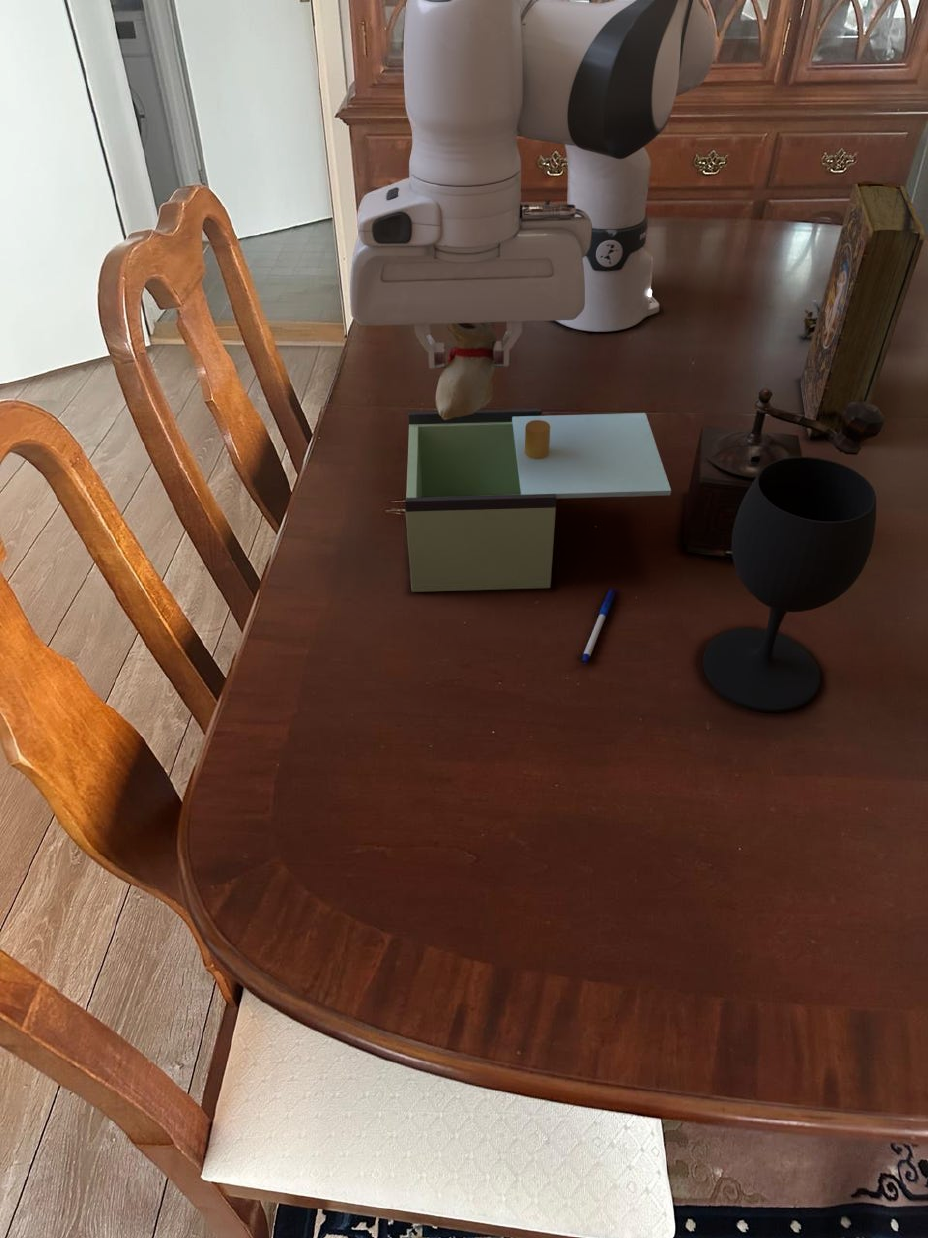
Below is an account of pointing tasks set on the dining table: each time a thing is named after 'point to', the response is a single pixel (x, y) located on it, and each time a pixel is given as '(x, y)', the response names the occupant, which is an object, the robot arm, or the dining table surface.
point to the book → (861, 300)
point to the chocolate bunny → (467, 371)
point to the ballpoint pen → (598, 625)
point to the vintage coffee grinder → (754, 466)
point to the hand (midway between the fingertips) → (468, 364)
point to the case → (473, 506)
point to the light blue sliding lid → (588, 456)
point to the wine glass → (790, 574)
